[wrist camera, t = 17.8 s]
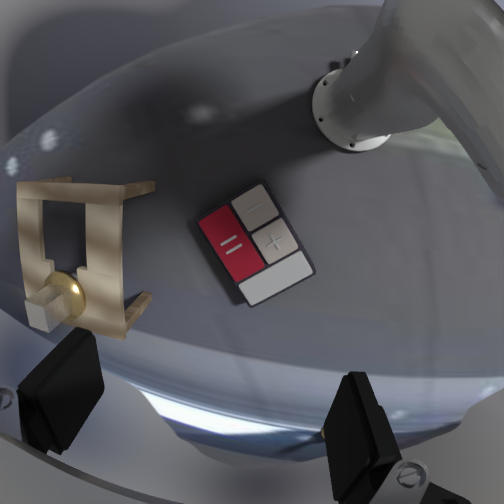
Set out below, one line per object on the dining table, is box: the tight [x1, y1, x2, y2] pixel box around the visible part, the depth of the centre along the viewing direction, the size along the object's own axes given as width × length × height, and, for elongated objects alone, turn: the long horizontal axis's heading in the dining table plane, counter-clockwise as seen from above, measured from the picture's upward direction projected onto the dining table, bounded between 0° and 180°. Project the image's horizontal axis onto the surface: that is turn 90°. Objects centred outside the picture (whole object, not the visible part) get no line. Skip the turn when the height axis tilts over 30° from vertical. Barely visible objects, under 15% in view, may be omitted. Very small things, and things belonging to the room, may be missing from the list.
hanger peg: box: [25, 264, 87, 333], centre depth 36 cm, size 7×7×16 cm
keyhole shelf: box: [17, 177, 156, 341], centre depth 39 cm, size 20×18×12 cm
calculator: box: [196, 180, 316, 308], centre depth 42 cm, size 11×4×15 cm
